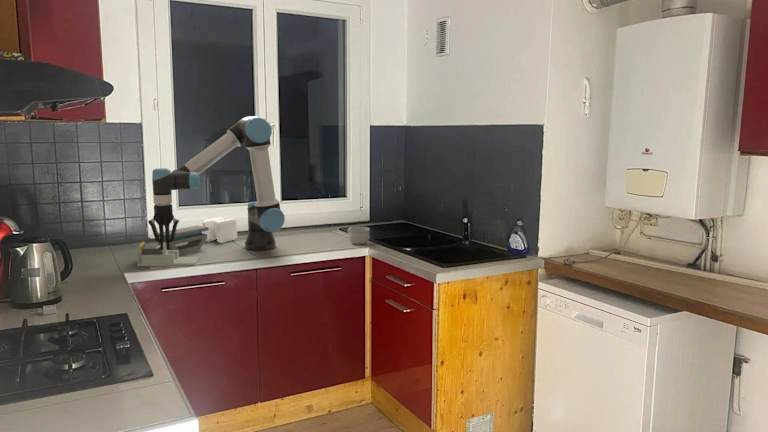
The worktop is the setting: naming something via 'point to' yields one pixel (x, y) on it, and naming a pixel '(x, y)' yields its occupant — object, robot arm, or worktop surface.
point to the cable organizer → (221, 229)
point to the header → (164, 259)
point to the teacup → (358, 235)
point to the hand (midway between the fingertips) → (165, 257)
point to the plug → (152, 250)
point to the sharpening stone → (188, 239)
